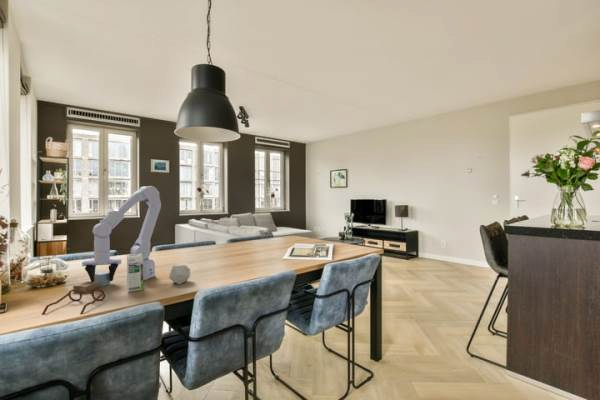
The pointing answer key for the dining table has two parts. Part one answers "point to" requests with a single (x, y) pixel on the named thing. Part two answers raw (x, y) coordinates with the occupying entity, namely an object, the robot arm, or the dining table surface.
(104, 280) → the slate cube
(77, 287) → the walnut slab
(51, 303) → the glasses
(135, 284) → the syrup box
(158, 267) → the dining table surface
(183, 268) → the die
